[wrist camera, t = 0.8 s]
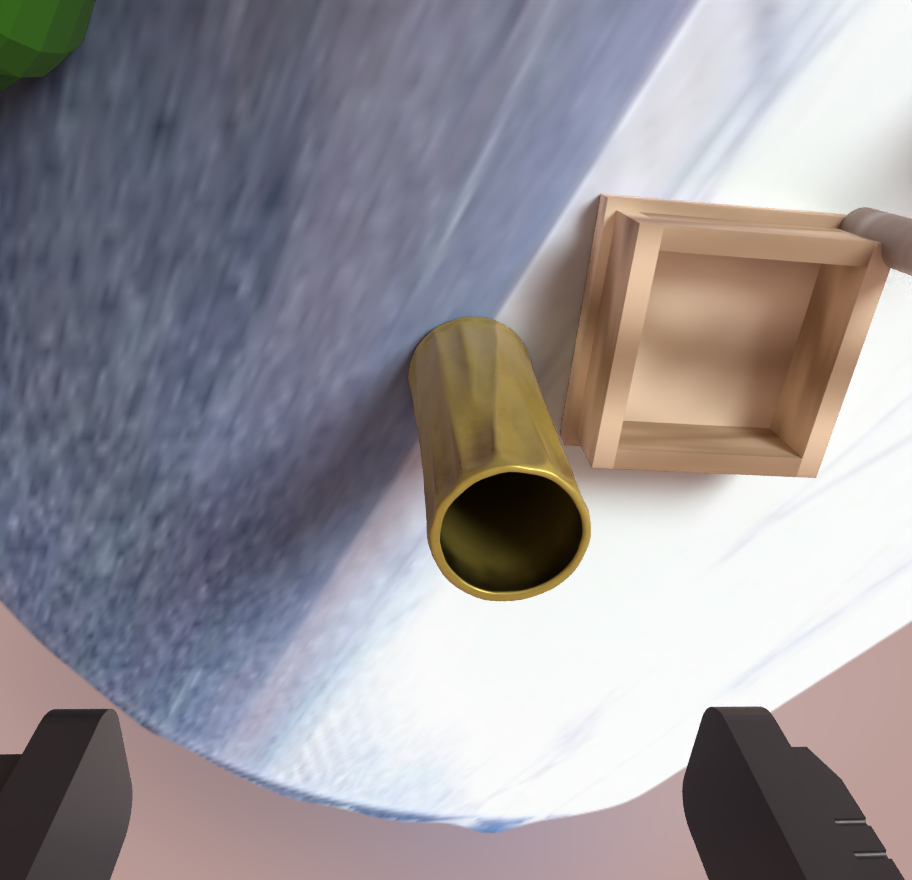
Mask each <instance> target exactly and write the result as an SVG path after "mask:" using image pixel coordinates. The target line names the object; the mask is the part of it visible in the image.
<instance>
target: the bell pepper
mask: <svg viewBox="0 0 912 880" xmlns="http://www.w3.org/2000/svg"><path fill="white" fill-rule="evenodd" d="M94 3H95V0H0V92H2V91H3V90H5V89H7V88H8V87H10V86H11V85H13V84H14V83H15V82H17V81H18V80H19V79H20V78H21V77H44V76H45V75H46V74H48V73H49V72H50V71H52V70H53V69H54V68H56V67H57V66H58V65H59V64H60V63H61V62H62V61H63V60H64V59H65V58H66V57H67V56H69V55H70V54H71V53H72V52H73V51H74V50H75V49H76V48H77V47H78V46H79V45H80V44H81V43H82V42H83V41H84V37H85V34H86V30H87V27H88V24H89V20H90V17H91V13H92V10H93V6H94Z"/></svg>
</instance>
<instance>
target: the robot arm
mask: <svg viewBox="0 0 912 880" xmlns="http://www.w3.org/2000/svg"><path fill="white" fill-rule="evenodd" d="M682 793H683V806H684V812H685V817H686V820H687V824H688V827H689V830H690V832H691V835H692V837H693V840H694V842H695V845H696V848H697V851H698V853H699V856H700V858H701V861H702V863H703V866H704V868H705V871H706V874H707V876H708V879H709V880H904V878H903V876H902V874H901V873H900V871H899V870H898V868H897V867H896V865H895V863H894V862H893V860H892V859H888V857H887V855H886V849H885V848H884V846H883V844H882V843H881V841H880V840H879V838H878V837H877V835H876V834H875V832H874V830H873V829H872V827H871V826H868V825H867V824H866V821H865V819H866V817H865V816H864V815H863V813H862V811H861V810H860V808H859V806H858V805H857V803H856V802H855V800H854V799H853V797H852V796H851V794H850V793H849V791H848V789H847V787H846V786H845V784H844V783H843V781H842V780H841V779H840V778H839V777H838V776H837V775H836V774H835V773H834V772H833V771H832V770H831V769H830V768H829V767H828V766H827V765H825V764H824V763H823V762H822V761H821V760H820V759H819V758H818V757H817V756H816V755H815V754H813V752H811V751H810V750H809V749H808V748H807V747H791V746H790V744H789V742H788V741H787V739H786V737H785V736H784V734H783V732H782V731H781V729H780V727H779V725H778V724H777V722H776V720H775V719H774V717H773V716H772V714H771V713H770V712H769V711H768V710H767V709H765V708H763V707H709V708H708V709H706V711H705V712H704V714H703V717H702V720H701V723H700V727H699V730H698V733H697V736H696V740H695V743H694V746H693V749H692V753H691V756H690V759H689V762H688V766H687V769H686V772H685V776H684V780H683V790H682ZM131 808H132V783H131V778H130V773H129V768H128V763H127V758H126V753H125V748H124V743H123V738H122V733H121V728H120V723H119V718H118V715H117V713H116V711H115V710H113V709H54V710H51V711H49V712H48V713H47V714H46V715H45V716H44V717H43V719H42V720H41V722H40V724H39V725H38V727H37V729H36V730H35V732H34V734H33V736H32V738H31V739H30V741H29V743H28V745H27V747H26V748H25V750H24V752H23V754H9V755H8V754H7V755H0V880H110V878H111V875H112V873H113V870H114V867H115V864H116V861H117V859H118V856H119V853H120V850H121V848H122V844H123V842H124V839H125V836H126V833H127V829H128V825H129V820H130V815H131Z"/></svg>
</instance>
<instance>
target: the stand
mask: <svg viewBox="0 0 912 880" xmlns="http://www.w3.org/2000/svg"><path fill="white" fill-rule="evenodd" d="M890 268H892V269H895V270H898V271H900V272H903V273H906V274H908V275H911V276H912V219H909V218H906V217H902V216H898V215H894V214H890V213H886V212H883V211H879V210H875V209H871V208H859V209H856V210H854V211H852V212H851V213H849V214H848V215H844V214H832V213H821V212H809V211H797V210H786V209H774V208H763V207H751V206H739V205H728V204H716V203H704V202H693V201H681V200H670V199H658V198H646V197H635V196H623V195H611V194H601V197H600V203H599V209H598V214H597V220H596V226H595V232H594V238H593V244H592V250H591V256H590V262H589V267H588V273H587V279H586V285H585V291H584V297H583V303H582V309H581V315H580V320H579V326H578V332H577V338H576V344H575V350H574V356H573V362H572V368H571V373H570V379H569V385H568V391H567V397H566V403H565V409H564V415H563V421H562V427H561V432H560V435H561V437H562V440H563V442H564V444H565V445H577V446H581V447H582V449H583V451H584V453H585V455H586V457H587V459H588V461H589V463H590V465H591V467H592V468H606V469H629V470H651V471H674V472H696V473H718V474H741V475H763V476H785V477H808V478H816V476H817V474H818V471H819V468H820V465H821V462H822V460H823V457H824V454H825V451H826V448H827V445H828V443H829V440H830V437H831V434H832V431H833V428H834V426H835V423H836V420H837V417H838V414H839V412H840V409H841V406H842V403H843V400H844V397H845V395H846V392H847V389H848V386H849V383H850V380H851V378H852V375H853V372H854V369H855V366H856V364H857V361H858V358H859V355H860V352H861V349H862V347H863V344H864V341H865V338H866V335H867V332H868V330H869V327H870V324H871V321H872V318H873V316H874V313H875V310H876V307H877V304H878V301H879V299H880V296H881V293H882V290H883V287H884V285H885V282H886V279H887V276H888V273H889V270H890Z"/></svg>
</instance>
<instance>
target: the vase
mask: <svg viewBox="0 0 912 880" xmlns="http://www.w3.org/2000/svg"><path fill="white" fill-rule="evenodd" d="M408 382H409V387H410V391H411V394H412V397H413V404H414V413H415V419H416V425H417V429H418V434H419V442H420V448H421V458H422V467H423V475H424V494H425V505H426V520H427V540H428V544H429V547H430V550H431V553H432V556H433V558H434V560H435V562H436V564H437V566H438V567H439V569H440V570H441V572H442V574H443V575H444V576H445V577H446V578H447V579H448V580H449V582H451V583H452V584H453V585H454V586H456V587H457V588H459V589H460V590H462V591H464V592H466V593H468V594H470V595H472V596H475V597H477V598H480V599H484V600H490V601H515V600H522V599H526V598H530V597H533V596H536V595H539V594H542V593H544V592H546V591H549V590H551V589H553V588H554V587H556V586H558V585H559V584H560V583H562V582H563V581H564V580H565V579H567V578H568V577H569V576H570V575H571V574H572V573H573V572H574V571H575V569H576V568H577V567H578V565H579V564H580V562H581V560H582V558H583V556H584V554H585V552H586V550H587V547H588V545H589V541H590V537H591V523H590V516H589V510H588V508H587V506H586V504H585V502H584V500H583V498H582V496H581V494H580V491H579V489H578V486H577V484H576V481H575V478H574V475H573V473H572V470H571V468H570V465H569V463H568V460H567V458H566V455H565V453H564V450H563V448H562V445H561V443H560V440H559V437H558V435H557V432H556V430H555V428H554V425H553V422H552V419H551V417H550V414H549V412H548V409H547V407H546V404H545V402H544V399H543V397H542V394H541V391H540V388H539V385H538V382H537V380H536V377H535V374H534V372H533V369H532V361H531V358H530V355H529V353H528V351H527V349H526V347H525V345H524V344H523V342H522V341H521V339H520V338H519V337H518V335H517V334H516V333H515V332H513V331H512V330H511V329H510V328H508V327H507V326H505V325H504V324H502V323H500V322H498V321H496V320H492V319H488V318H482V317H463V318H458V319H455V320H452V321H449V322H446V323H444V324H442V325H440V326H438V327H436V328H435V329H433V330H432V331H431V332H430V333H429V334H428V335H427V336H426V337H425V338H424V339H423V340H422V341H421V342H420V344H419V345H418V346H417V348H416V350H415V352H414V354H413V357H412V360H411V363H410V367H409V373H408Z"/></svg>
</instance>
